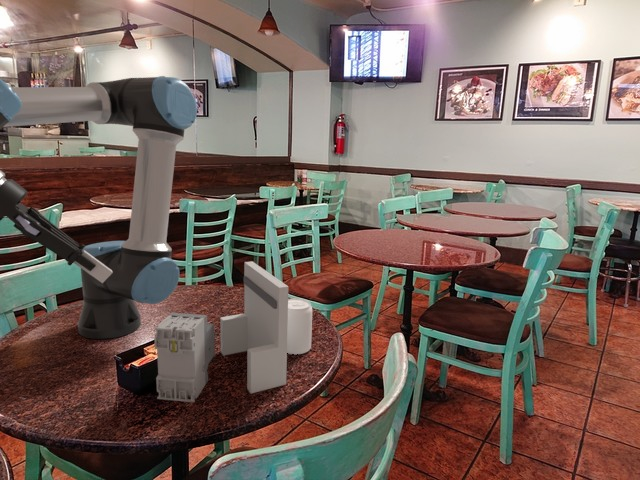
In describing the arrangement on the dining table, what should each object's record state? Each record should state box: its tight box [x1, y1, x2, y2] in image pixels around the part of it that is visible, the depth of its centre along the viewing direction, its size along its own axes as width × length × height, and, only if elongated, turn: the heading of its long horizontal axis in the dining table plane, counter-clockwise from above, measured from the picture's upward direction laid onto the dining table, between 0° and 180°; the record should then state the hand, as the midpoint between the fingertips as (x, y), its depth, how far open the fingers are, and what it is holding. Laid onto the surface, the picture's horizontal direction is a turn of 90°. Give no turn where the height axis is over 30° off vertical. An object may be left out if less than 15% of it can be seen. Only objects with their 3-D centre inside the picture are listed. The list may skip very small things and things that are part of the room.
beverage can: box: [287, 297, 313, 356], centre depth 111 cm, size 8×8×12 cm
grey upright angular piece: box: [219, 260, 289, 394], centre depth 100 cm, size 20×8×22 cm, turn 30°
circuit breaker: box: [154, 312, 216, 403], centre depth 94 cm, size 8×14×15 cm, turn 174°
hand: (107, 276), depth 87 cm, fingers closed
